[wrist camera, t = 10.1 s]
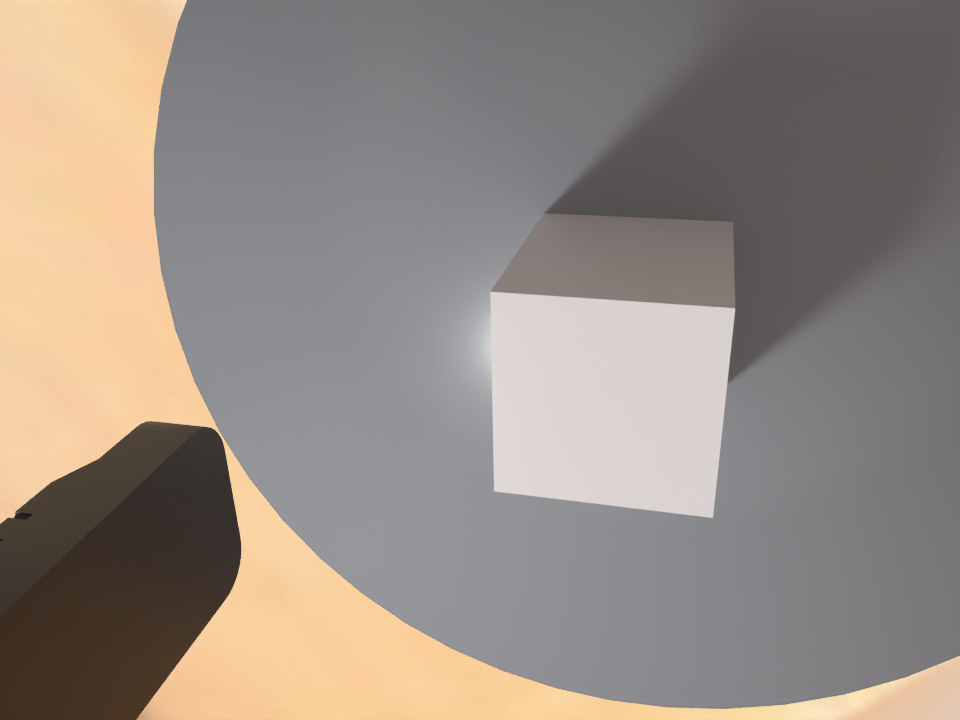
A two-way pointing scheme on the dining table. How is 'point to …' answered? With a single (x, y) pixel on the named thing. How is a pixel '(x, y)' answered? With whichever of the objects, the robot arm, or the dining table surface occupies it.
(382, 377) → the lid
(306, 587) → the dining table surface
